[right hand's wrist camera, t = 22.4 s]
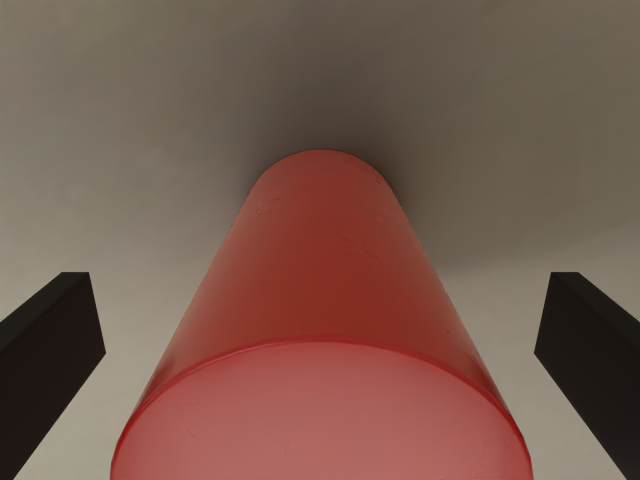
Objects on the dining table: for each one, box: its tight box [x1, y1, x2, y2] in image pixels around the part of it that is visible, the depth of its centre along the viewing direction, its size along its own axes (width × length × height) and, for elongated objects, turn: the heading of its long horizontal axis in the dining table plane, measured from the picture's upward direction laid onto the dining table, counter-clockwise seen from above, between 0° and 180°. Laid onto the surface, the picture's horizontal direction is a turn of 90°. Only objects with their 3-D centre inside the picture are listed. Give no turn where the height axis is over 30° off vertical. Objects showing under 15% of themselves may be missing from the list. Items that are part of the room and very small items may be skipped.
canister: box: [110, 149, 534, 480], centre depth 13 cm, size 7×7×13 cm
